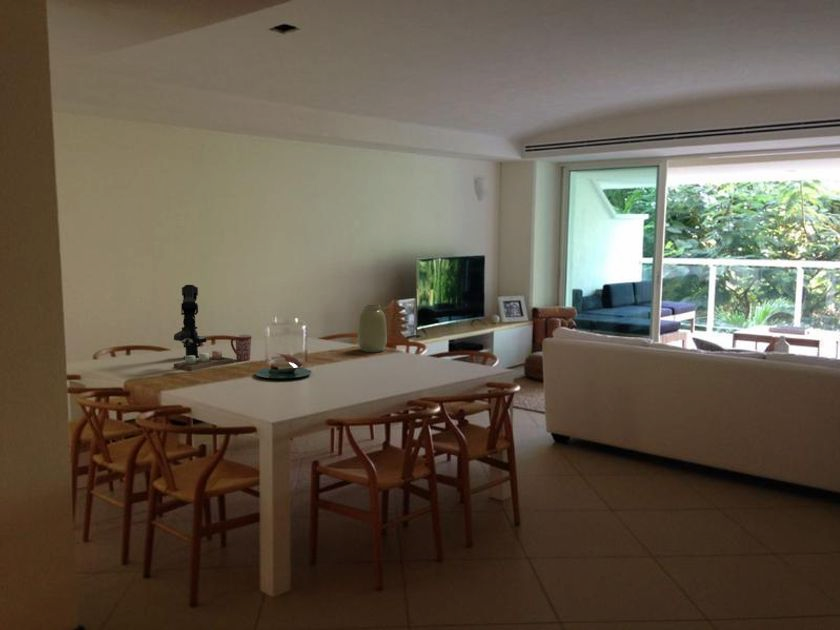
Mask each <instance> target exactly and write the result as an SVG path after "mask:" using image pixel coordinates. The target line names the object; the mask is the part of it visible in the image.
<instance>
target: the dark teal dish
mask: <svg viewBox="0 0 840 630" xmlns="http://www.w3.org/2000/svg"><path fill="white" fill-rule="evenodd" d="M277 355H279V356H280V357H282V358H284V359H285V361H287V362H288V364H290V365H291V367H289V366H287V367H286V366H285V367H284V366H278V365H273V364H270V367H267V368H261V369H259V370H257V371H256V370H255V372H254V376H255V375H256V376H257V377H262V378H268V379H292V378H300V377H305V376H309V375H310V374H312V370H310V369H308V368H305V366H304V364H303V362H301V361H299V360H298V359H297V358H296V357H294V356H290V355H288V354H285V353H284V354H283V353H278V354H276V357H277Z"/></svg>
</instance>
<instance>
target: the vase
mask: <svg viewBox="0 0 840 630" xmlns="http://www.w3.org/2000/svg"><path fill="white" fill-rule="evenodd" d="M381 308H382V307H381V305H380V304H365V305H364V309H363V310H362V311H361V313H360V315H359V320H358V326H357V327H358V329H357V330H358V331H357V343H358V347H359V349H360V351H362V352H364V353H365V352H366V353H379V352H383V351H384V350H385V348H386V347H387V342H388V340H387V338H388V337H387V336H388V331H387V329H388V328H387V318H386V315H385V312H384V311H383V310H382V309H381Z"/></svg>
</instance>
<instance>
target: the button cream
mask: <svg viewBox="0 0 840 630" xmlns="http://www.w3.org/2000/svg"><path fill="white" fill-rule="evenodd" d="M198 356H199V357H198V359H199V362H208V361H209V357H210V353H209V352H202V353H198Z"/></svg>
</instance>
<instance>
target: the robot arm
mask: <svg viewBox="0 0 840 630" xmlns="http://www.w3.org/2000/svg"><path fill="white" fill-rule="evenodd" d="M181 296H182V297H183V299H182V302H181V304H180V305H181V306H180V309H181V310H180V311H181V313H180V314H181V316H183V321H182V324H183V327H181V330H180V331H178V332H176V333H175V334H174V335H173V340H174V341H178V342H181V343H182V344H183V348H185V356H189V355H194V356H195V359H198V358H199V349H198V348H200V347H202V346H201V345H202V343H207V338H206V336H202V335H201V336H200V335H199V333H198V331H197V329H198V326H196V316H197V315H198V314H199V305H198V303H197V302H196V301H197V298H198V296H199V287H198V286H195V285H194V284H185V285H184V286H182V287H181ZM185 356H183V358H185Z"/></svg>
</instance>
